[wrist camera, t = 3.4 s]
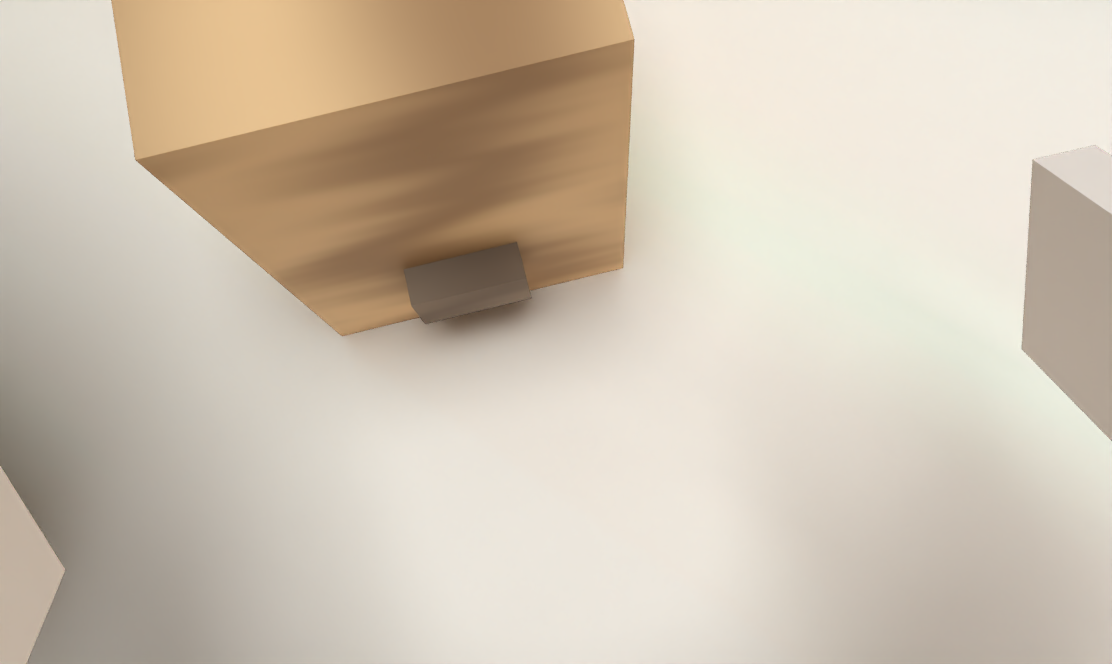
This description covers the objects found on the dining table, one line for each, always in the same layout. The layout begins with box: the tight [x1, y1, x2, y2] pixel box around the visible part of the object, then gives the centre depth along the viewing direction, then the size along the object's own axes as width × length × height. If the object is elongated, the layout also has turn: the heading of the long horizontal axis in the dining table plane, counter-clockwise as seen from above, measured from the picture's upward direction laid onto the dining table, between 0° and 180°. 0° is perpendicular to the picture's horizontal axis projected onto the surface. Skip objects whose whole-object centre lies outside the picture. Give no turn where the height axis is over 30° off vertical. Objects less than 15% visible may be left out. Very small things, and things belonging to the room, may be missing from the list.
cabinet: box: [111, 0, 634, 336], centre depth 20 cm, size 7×7×11 cm
